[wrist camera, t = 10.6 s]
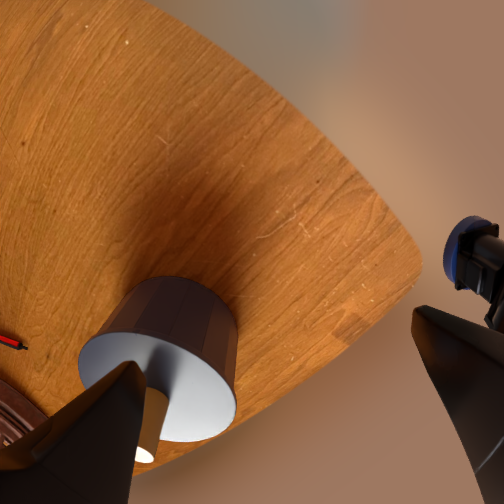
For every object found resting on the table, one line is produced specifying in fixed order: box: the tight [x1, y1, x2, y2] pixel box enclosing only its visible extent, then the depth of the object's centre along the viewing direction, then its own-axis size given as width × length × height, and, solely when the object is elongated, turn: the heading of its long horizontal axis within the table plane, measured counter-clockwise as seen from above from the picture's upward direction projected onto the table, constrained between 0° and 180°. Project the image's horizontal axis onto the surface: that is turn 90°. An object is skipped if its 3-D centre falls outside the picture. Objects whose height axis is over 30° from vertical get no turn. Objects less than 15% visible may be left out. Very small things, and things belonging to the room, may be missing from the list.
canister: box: [97, 276, 238, 388], centre depth 20 cm, size 10×10×8 cm
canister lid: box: [78, 327, 237, 463], centre depth 14 cm, size 11×11×6 cm
